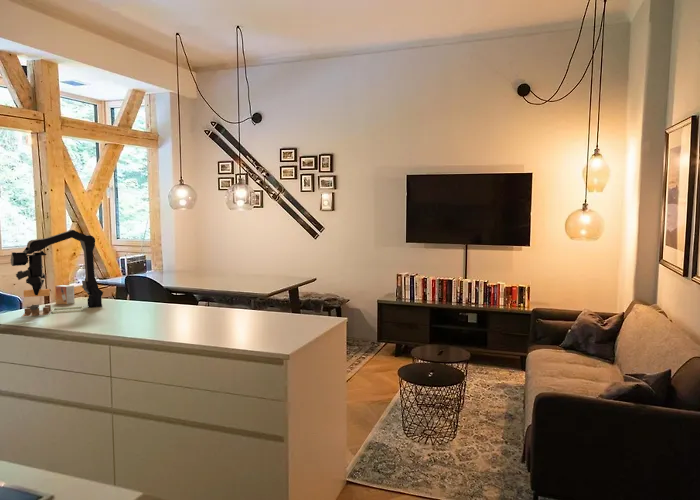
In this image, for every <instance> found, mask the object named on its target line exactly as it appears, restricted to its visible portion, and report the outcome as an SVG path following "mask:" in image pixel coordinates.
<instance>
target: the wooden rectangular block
mask: <svg viewBox="0 0 700 500" xmlns="http://www.w3.org/2000/svg"><path fill="white" fill-rule="evenodd" d="M50 294H51V292H50V288H41V289H40V290H39V293H38V295H35V294H34V291H33V289H24V290H23V297H24V298H31V297H32V298H34V297H48V296H49V297H50Z"/></svg>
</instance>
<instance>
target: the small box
mask: <svg viewBox="0 0 700 500" xmlns="http://www.w3.org/2000/svg"><path fill="white" fill-rule="evenodd" d="M54 287H55V304H56V305H70V304H75V303H76V302H75V285H74V284H73V285H72V284H71V285H69V284H67V285H65V284H60V285H56V286H54Z"/></svg>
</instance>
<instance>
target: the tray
mask: <svg viewBox="0 0 700 500" xmlns="http://www.w3.org/2000/svg"><path fill="white" fill-rule="evenodd" d="M84 308H85V307H84V306H83V305H82V306H68V307H53V309H51V310H52V311H51V313H50V314H64V313H75V312H77V313H79V312H83V310H84Z"/></svg>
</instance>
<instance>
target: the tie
mask: <svg viewBox="0 0 700 500" xmlns="http://www.w3.org/2000/svg"><path fill="white" fill-rule="evenodd" d="M30 306H31V307H30V309H31V310H36V309H38V308H39V309H40V304H32V305H30Z"/></svg>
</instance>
